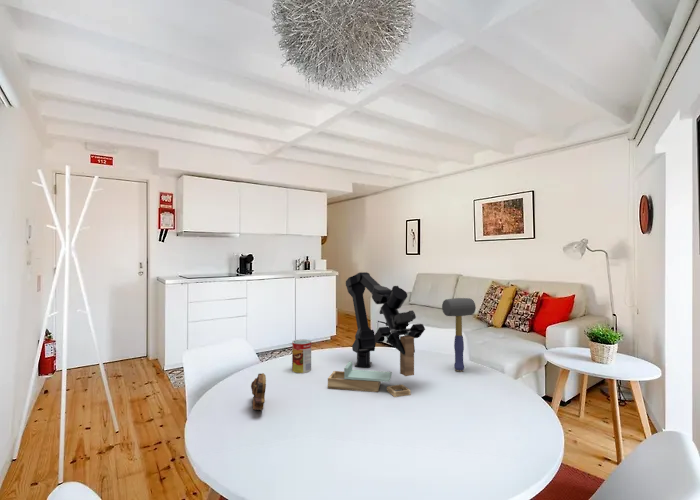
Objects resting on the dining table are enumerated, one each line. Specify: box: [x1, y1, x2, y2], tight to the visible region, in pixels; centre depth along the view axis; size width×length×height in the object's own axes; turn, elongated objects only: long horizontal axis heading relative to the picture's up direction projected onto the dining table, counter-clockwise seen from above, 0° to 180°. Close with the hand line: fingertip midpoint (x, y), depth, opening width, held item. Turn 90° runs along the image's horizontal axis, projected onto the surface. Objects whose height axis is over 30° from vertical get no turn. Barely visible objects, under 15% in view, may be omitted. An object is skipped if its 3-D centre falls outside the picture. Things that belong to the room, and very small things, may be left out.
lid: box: [343, 361, 393, 383], centre depth 129 cm, size 9×16×4 cm, turn 79°
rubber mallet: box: [441, 297, 477, 372], centre depth 148 cm, size 12×8×30 cm, turn 107°
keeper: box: [386, 384, 412, 398], centre depth 123 cm, size 6×6×2 cm
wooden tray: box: [327, 370, 382, 393], centre depth 130 cm, size 9×18×4 cm, turn 79°
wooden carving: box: [250, 372, 267, 411], centre depth 111 cm, size 16×5×10 cm, turn 21°
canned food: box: [291, 338, 312, 374], centre depth 148 cm, size 8×8×12 cm
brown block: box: [399, 335, 415, 377], centre depth 125 cm, size 4×4×13 cm
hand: (409, 353), depth 124 cm, fingers closed on brown block, 3 cm apart
